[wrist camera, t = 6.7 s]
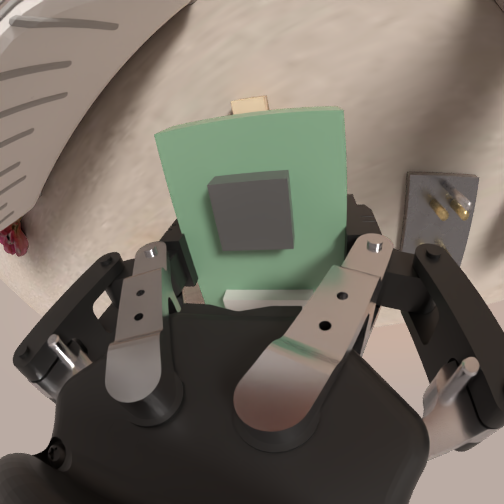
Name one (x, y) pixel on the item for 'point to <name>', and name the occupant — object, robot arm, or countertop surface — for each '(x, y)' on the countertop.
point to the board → (260, 202)
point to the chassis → (439, 211)
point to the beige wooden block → (250, 105)
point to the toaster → (59, 79)
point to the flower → (14, 239)
